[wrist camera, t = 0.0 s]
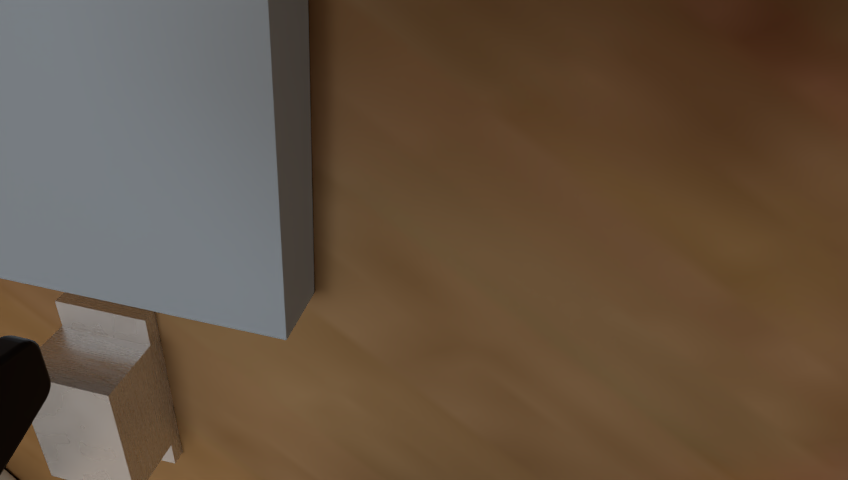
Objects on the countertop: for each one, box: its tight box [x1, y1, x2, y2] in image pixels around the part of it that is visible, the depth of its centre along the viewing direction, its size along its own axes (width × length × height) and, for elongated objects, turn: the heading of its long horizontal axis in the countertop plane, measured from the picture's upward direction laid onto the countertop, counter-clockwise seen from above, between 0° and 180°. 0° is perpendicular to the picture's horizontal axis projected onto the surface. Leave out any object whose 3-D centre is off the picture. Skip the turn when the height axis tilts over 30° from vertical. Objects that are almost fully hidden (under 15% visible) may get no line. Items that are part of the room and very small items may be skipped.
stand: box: [0, 0, 314, 340], centre depth 23 cm, size 16×16×3 cm
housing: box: [32, 292, 182, 480], centre depth 32 cm, size 10×4×4 cm, turn 176°
